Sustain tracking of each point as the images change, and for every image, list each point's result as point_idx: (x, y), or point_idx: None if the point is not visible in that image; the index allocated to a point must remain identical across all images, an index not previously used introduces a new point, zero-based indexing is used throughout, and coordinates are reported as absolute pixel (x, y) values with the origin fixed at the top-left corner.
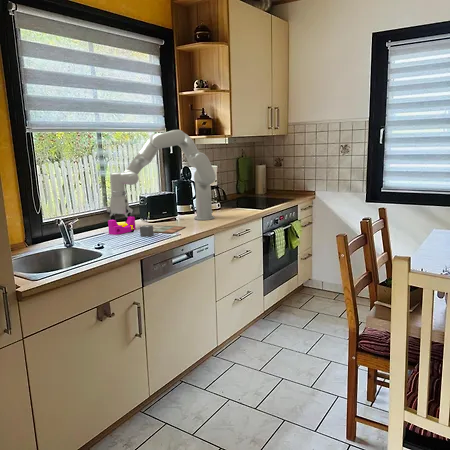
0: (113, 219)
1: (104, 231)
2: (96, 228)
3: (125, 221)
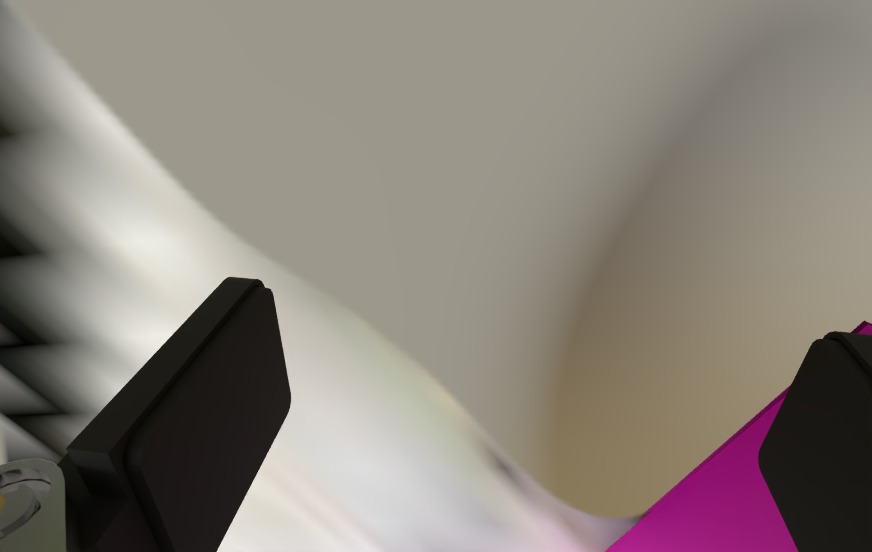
0: (234, 442)
1: (367, 522)
2: (25, 345)
3: (792, 535)
